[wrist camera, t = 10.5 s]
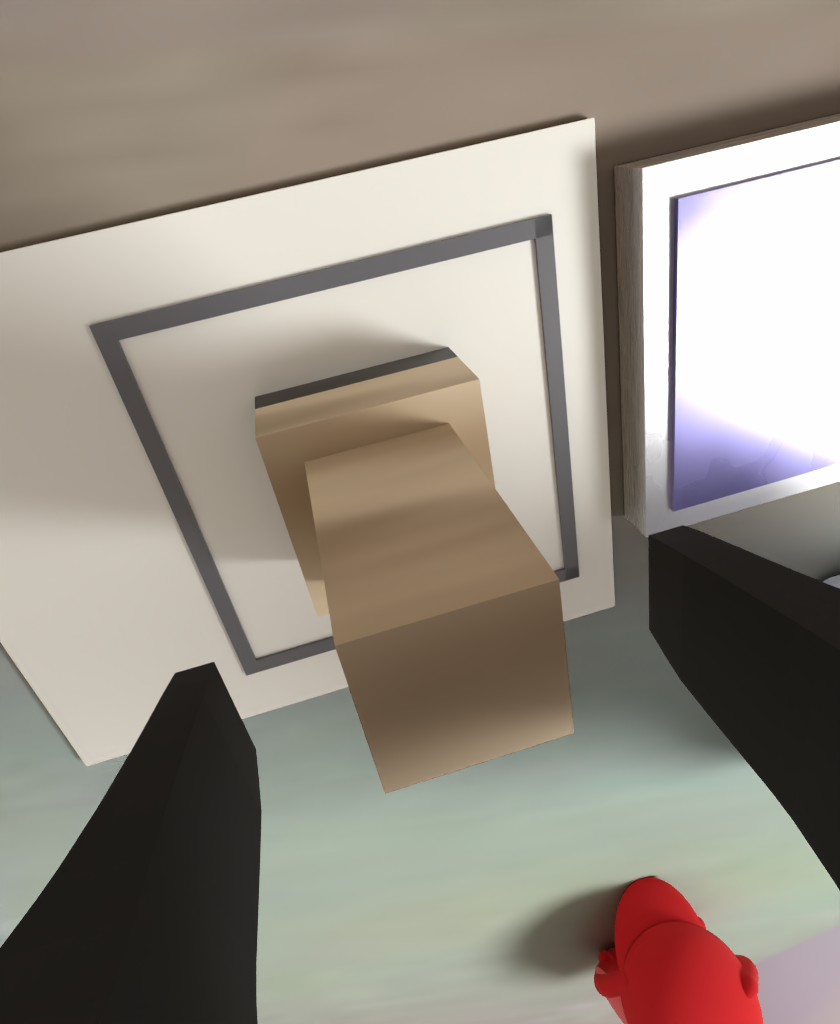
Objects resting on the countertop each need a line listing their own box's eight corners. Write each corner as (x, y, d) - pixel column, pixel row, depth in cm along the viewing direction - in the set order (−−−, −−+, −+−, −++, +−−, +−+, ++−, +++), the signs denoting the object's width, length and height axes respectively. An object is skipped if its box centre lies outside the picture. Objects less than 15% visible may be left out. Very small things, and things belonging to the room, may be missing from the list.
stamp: (476, 512, 17) (621, 750, 11) (309, 559, 17) (348, 838, 10) (448, 346, 15) (611, 515, 8) (254, 396, 15) (257, 617, 8)
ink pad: (905, 435, 20) (946, 453, 18) (624, 516, 19) (649, 540, 18) (983, 79, 15) (1044, 73, 14) (613, 166, 14) (645, 168, 13)
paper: (611, 602, 20) (616, 607, 20) (88, 760, 19) (85, 769, 19) (589, 117, 14) (596, 117, 13) (-227, 303, 12) (-237, 307, 12)
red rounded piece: (768, 1005, 30) (839, 1033, 25) (680, 1111, 28) (736, 1165, 23) (638, 850, 33) (676, 846, 28) (551, 937, 32) (575, 950, 26)
